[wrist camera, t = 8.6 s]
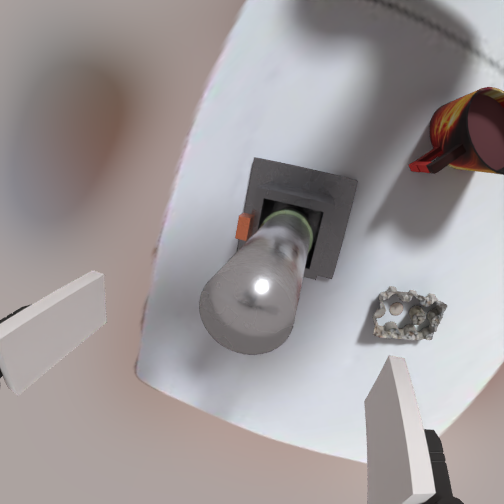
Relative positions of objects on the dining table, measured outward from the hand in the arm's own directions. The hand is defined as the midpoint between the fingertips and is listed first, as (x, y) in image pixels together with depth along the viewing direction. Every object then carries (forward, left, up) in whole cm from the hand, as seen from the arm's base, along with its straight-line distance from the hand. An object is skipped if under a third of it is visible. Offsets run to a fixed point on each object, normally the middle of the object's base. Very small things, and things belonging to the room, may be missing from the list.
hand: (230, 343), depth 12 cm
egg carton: (+10, +20, -32) cm, 39 cm away
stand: (0, 0, -31) cm, 31 cm away
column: (0, 0, -23) cm, 23 cm away
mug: (-15, +20, -32) cm, 40 cm away
